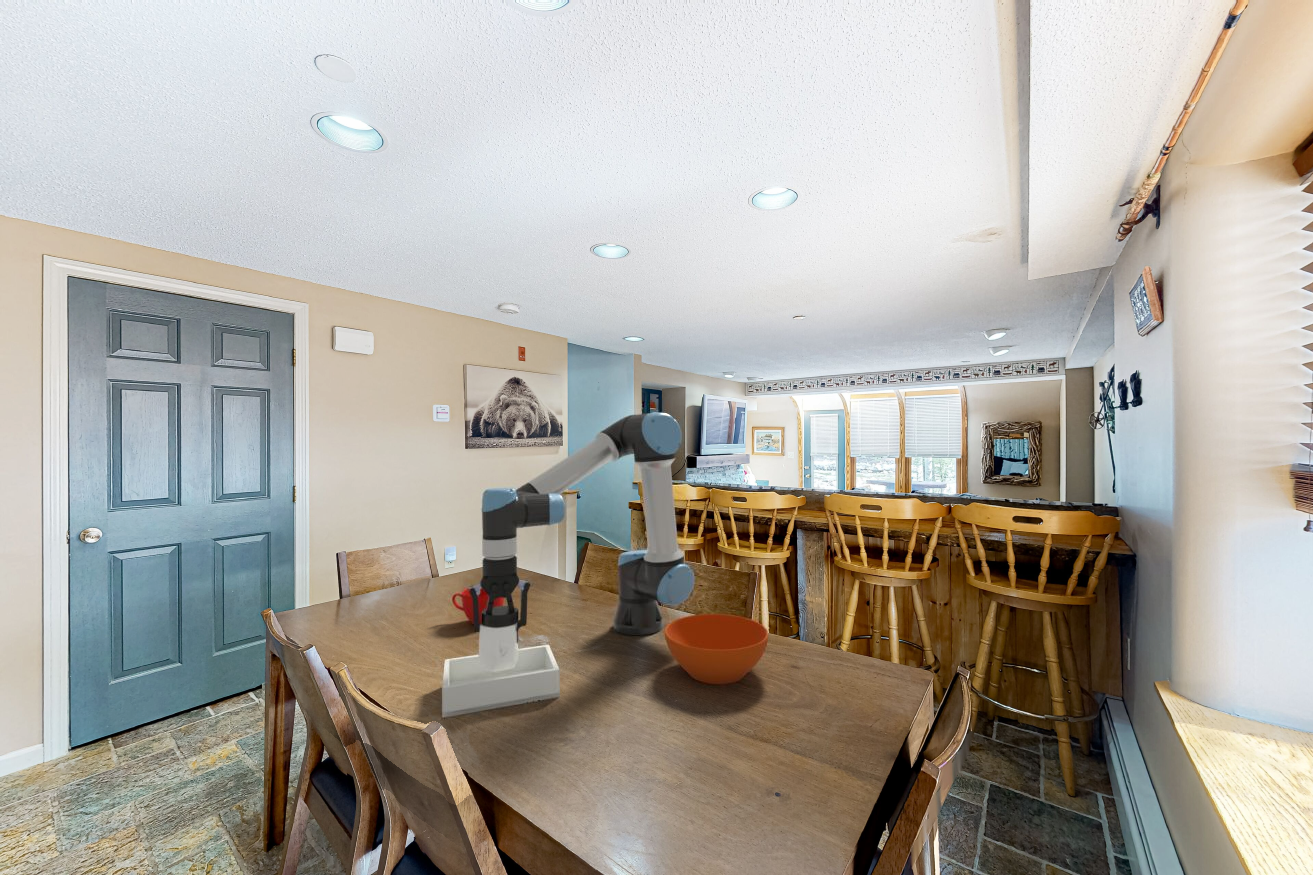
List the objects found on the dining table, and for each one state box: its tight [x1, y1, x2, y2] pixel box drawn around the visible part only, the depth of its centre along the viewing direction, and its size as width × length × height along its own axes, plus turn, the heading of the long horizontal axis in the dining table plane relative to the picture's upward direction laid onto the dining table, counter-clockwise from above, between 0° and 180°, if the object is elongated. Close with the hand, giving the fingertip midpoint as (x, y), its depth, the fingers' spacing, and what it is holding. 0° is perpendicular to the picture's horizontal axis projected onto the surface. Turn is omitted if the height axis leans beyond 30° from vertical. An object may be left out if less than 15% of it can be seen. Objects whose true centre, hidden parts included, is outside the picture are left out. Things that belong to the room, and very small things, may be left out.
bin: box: [441, 644, 561, 719], centre depth 117 cm, size 24×16×6 cm, turn 110°
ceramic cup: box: [451, 588, 505, 625], centre depth 165 cm, size 13×17×10 cm
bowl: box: [664, 613, 769, 685], centre depth 126 cm, size 25×25×10 cm
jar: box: [478, 605, 520, 672], centre depth 118 cm, size 9×8×12 cm
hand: (500, 659), depth 118 cm, fingers closed on jar, 4 cm apart
